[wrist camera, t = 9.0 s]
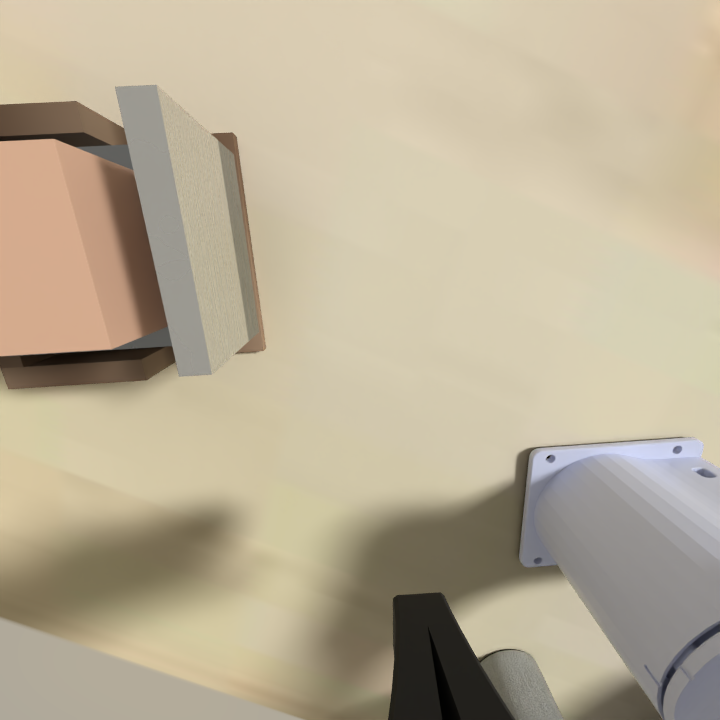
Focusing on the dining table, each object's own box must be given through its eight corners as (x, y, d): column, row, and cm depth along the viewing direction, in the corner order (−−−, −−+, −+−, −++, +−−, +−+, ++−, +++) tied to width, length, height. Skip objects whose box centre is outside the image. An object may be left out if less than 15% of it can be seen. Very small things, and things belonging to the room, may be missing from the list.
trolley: (244, 164, 13) (156, 84, 7) (266, 325, 14) (211, 374, 9) (22, 175, 12) (-270, 103, 7) (71, 337, 14) (-123, 396, 8)
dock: (236, 136, 14) (195, 91, 10) (265, 348, 17) (241, 376, 13) (25, 147, 14) (-100, 105, 10) (88, 359, 17) (9, 391, 13)
